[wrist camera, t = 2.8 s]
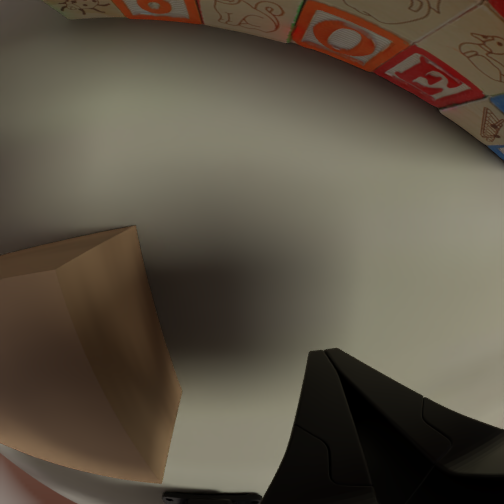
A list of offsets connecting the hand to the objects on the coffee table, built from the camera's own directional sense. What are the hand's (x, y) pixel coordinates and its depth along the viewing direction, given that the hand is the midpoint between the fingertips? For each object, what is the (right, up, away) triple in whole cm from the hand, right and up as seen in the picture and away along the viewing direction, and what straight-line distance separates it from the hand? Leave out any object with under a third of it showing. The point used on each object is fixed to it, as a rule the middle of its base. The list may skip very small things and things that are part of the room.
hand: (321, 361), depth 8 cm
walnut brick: (-10, 0, +2) cm, 11 cm away
